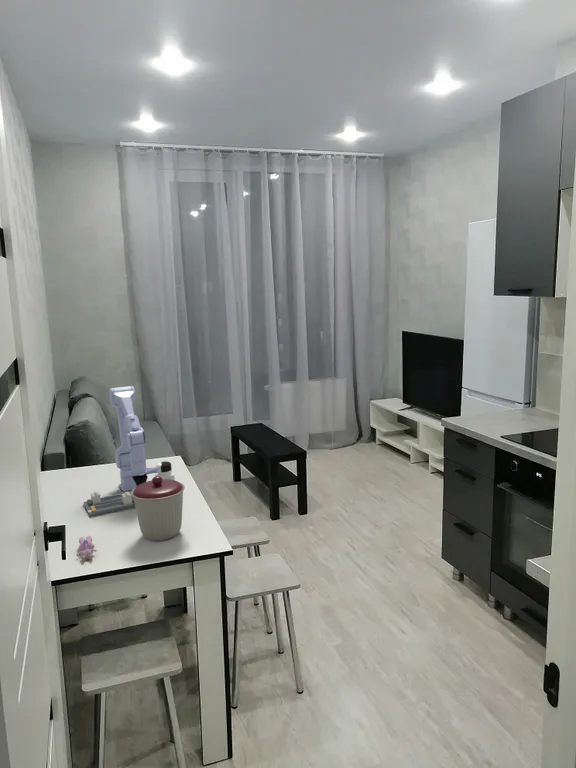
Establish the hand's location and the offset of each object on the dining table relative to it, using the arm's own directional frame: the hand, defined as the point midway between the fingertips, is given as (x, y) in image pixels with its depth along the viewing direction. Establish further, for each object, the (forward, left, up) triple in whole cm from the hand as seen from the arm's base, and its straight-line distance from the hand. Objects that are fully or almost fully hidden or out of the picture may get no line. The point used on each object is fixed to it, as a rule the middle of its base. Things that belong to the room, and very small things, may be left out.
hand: (141, 493), depth 233 cm
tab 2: (0, -6, -3) cm, 6 cm away
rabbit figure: (+34, -27, -5) cm, 44 cm away
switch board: (-4, -10, -4) cm, 12 cm away
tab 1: (-8, -16, -3) cm, 18 cm away
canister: (+33, -1, -5) cm, 34 cm away
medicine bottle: (-10, +13, -5) cm, 16 cm away
